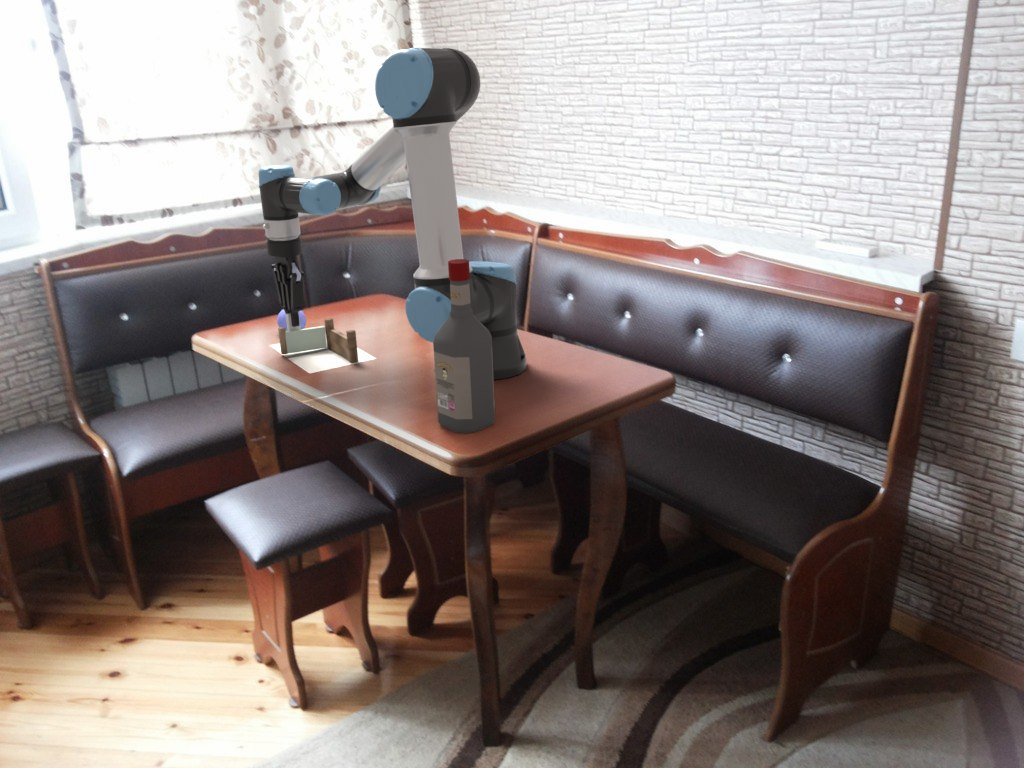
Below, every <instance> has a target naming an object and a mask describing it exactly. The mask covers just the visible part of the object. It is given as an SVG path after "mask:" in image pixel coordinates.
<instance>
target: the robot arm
mask: <svg viewBox="0 0 1024 768" xmlns="http://www.w3.org/2000/svg"><path fill="white" fill-rule="evenodd" d="M476 65H477V64H476V63H475V62H474V61H473V59H472V58H471V57H470V56H469V55H468V54H467V53H465V52H463V51H462V50H459V49H456V48H451V47H448V48H446V47H445V48H433V47H432V48H430V47H429V48H428V47H410V48H403V49H397V50H395V51H393V52H391V53H390V54H388V55H387V56H386V57H385V58H384V60H383V62H382V64H381V65H379V67H378V70H377V73H376V77H375V83H374V84H375V85H374V91H375V97H376V100H377V103H378V105H379V107H380V108H381V109H382V110H383V112H384V113H385V114H386V115H387V116H389V117H390V118H391V119H392V123H391V124H390V125H389V126H388V127H387V128H386V129H385V130H384V131H383V132H382V133H381V134H380V135H379V136H378V137H377V138H376V139H375V141H373V143H372V142H371V143H372V144H370V145H369V146H368V147H367V148H366V150H365V151H364V152H362V154H361V155H360V156H359V157H357V158H356V160H354V162H353V163H351V165H350V166H349V167H347V169H345V170H344V171H342V172H337V173H330V174H324V175H318V176H317V175H316V176H312V177H311V176H310V177H309V176H308V177H307V176H306V177H304V176H303V177H302V176H296V174H295V171H294V168H293V166H292V165H288V164H273V165H272V164H271V165H265V166H262V167H260V168H259V169H258V189H259V192H260V193H259V195H260V202H261V208H262V209H261V210H262V217H263V223H264V224H263V225H262V228H263V229H264V231H265V236H266V237H267V239H266V241H265V242H266V250H267V251H266V252H267V255H268V256H269V257H271V258H274V264H271V265H270V268H271V271H272V275H273V279H274V283H275V287H276V288H275V289H276V292H277V296H278V302H279V306H280V307H281V308H282V310H283V309H284V311H285V314H286V323H287V331H290V330H297V329H301V327H300V318H299V312H300V311H302V312H303V310H304V278H305V273H304V271H299V270H300V269H299V268H300V267H299V263H298V260H297V256H300V255H301V254H302V253H303V245H302V238H301V236H300V235H301V234H302V232H301V224H300V215H299V213H300V214H306V215H314V216H318V217H319V216H329V215H333V214H334V213H335V212H336V211H337V210H340V209H345V208H349V207H354V206H355V207H356V206H363V205H366V204H368V203H371V202H374V201H375V200H376V199H377V198H378V197H379V195H380V191H381V189H382V188H381V186H382V185H383V184H384V183H385V182H386V181H387V180H388V179H390V177H391V176H393V174H394V173H396V172H397V171H398V170H399V169H400V168H401V167H402V166H403V165H404V164H406V169H407V170H406V171H407V176H408V177H407V178H408V184H409V193H410V198H411V199H410V200H411V201H410V202H411V207H412V209H411V210H412V215H413V223H414V231H415V237H416V245H417V253H418V261H419V266H418V268H417V269H416V270H415V271H414V273H413V275H412V276H413V277H412V278H413V282H414V283H413V284H414V285H413V286H414V289H413V290H412V291H411V292H410V293H409V294H408V297H406V300H405V303H404V304H405V308H404V309H405V316H406V318H407V321H408V323H409V325H410V326H411V328H412V329H413V331H414V332H415V333H417V334H418V335H419V337H420V338H421V339H423V340H425V341H426V342H429V343H433V342H434V339H435V336H436V332H437V331H438V330H439V328H440V327H441V326H442V325H443V324H444V322H445V321H446V320H447V319H448V317H449V316H450V311H451V293H450V280H449V271H448V261H450V260H455V259H465V258H464V252H463V243H462V242H463V241H462V234H461V226H460V217H459V208H458V200H457V199H458V198H457V192H456V182H455V174H454V165H453V164H454V163H453V157H452V149H451V148H452V147H451V137H450V133H451V131H452V129H453V128H454V127H455V125H456V124H457V122H458V121H459V120H460V119H461V118H462V117H463V116H464V115H465V114H466V113H467V112H468V111H469V110H470V109H471V108H472V107H473V106H474V104H475V103H476V101H477V100H478V97H479V93H480V91H481V75H480V72H479V69H478V67H477V66H476ZM469 270H470V279H469V287H470V303H471V309H472V311H473V315H474V316H475V317H476V318H477V319H478V320H479V321H480V322H481V323H482V324H483V325H484V326H485V327H486V328H487V329H488V330H489V332H490V334H491V336H492V357H493V380H501V379H506V378H507V379H508V378H513V377H515V376H517V375H520V374H522V373H523V372H525V371H526V370H527V356H526V353H525V351H524V347H523V345H522V342H521V339H520V337H519V334H518V317H517V314H518V309H517V284H518V283H517V280H516V279H517V278H516V271H515V270H516V269H515V268H514V267H513V266H512V265H511V264H508V263H503V262H494V261H478V260H477V261H469ZM524 370H525V371H524Z"/></svg>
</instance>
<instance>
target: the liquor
mask: <svg viewBox="0 0 1024 768" xmlns="http://www.w3.org/2000/svg"><path fill="white" fill-rule="evenodd" d="M469 262H470V260H469V259H465V258H464V259H455V260H450V261H448V271H449V280H450V293H451V311H450V316H449V317H448V319H447V320H446V321H445V322H444V324H443V325H442V326H441V327H440V328H439V330H438V331H437V332H436V336H435V339H434V342H433V345H432V346H433V359H434V373H435V374H434V375H435V388H436V389H435V391H436V405H437V421H438V424H439V425H440V427H441V428H445V429H447V430H450V431H452V432H454V433H457V434H473V433H476V432H478V431H480V430H483V429H486V428H489V427H492V426H493V424H494V422H495V418H496V413H495V412H496V410H495V407H496V405H495V388H494V387H495V386H494V384H495V383H494V379H493V357H492V336H491V334H490V332H489V330H488V329H487V328H486V327H485V326H484V325H483V324H482V323H481V322H480V321H479V320H478V319H477V318H476V317H475V316H474V315H473V311H472V309H471V303H470V287H469V279H470V270H469Z"/></svg>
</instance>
